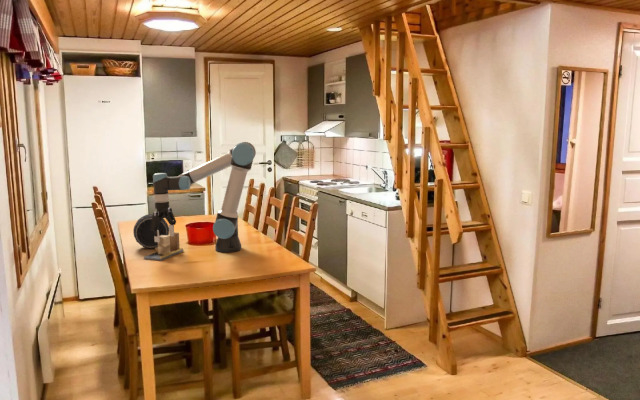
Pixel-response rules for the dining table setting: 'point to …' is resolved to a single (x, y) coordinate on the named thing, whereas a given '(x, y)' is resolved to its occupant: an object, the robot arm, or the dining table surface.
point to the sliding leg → (163, 245)
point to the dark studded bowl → (148, 231)
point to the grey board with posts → (173, 249)
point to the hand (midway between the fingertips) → (164, 239)
